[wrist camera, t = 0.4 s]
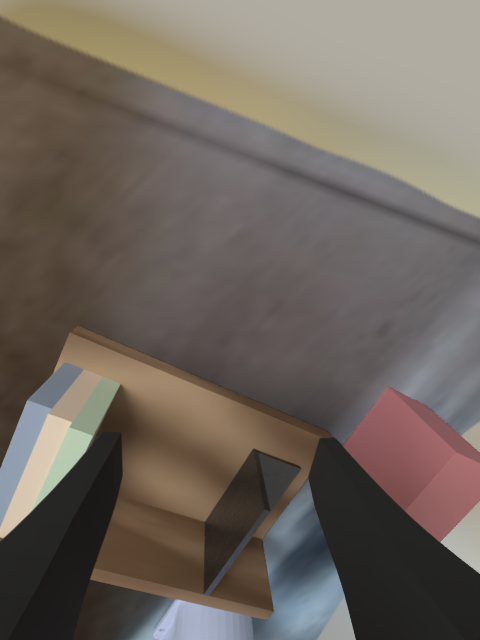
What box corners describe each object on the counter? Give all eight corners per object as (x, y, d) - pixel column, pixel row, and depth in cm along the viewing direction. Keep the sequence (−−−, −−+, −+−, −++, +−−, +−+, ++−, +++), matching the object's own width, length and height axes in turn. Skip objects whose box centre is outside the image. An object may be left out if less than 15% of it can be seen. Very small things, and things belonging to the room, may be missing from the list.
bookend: (250, 535, 26) (258, 608, 21) (204, 521, 25) (203, 594, 20) (299, 466, 24) (322, 528, 19) (253, 448, 23) (264, 509, 18)
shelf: (254, 533, 27) (266, 620, 21) (21, 461, 23) (-45, 548, 17) (328, 431, 24) (365, 500, 18) (77, 325, 20) (22, 372, 14)
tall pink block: (360, 484, 27) (410, 573, 20) (323, 470, 26) (363, 558, 19) (425, 404, 24) (504, 474, 18) (387, 386, 24) (456, 452, 17)
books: (73, 481, 22) (36, 554, 17) (21, 466, 21) (-32, 537, 17) (120, 383, 20) (93, 435, 15) (65, 361, 19) (18, 409, 14)
